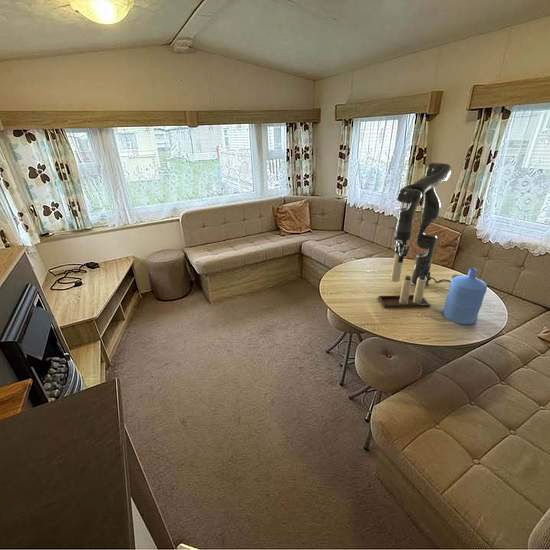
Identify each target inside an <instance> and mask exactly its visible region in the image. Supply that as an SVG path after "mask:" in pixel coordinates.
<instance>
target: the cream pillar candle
mask: <svg viewBox="0 0 550 550" xmlns="http://www.w3.org/2000/svg"><path fill="white" fill-rule="evenodd" d="M398 259H399V251H397V253H395V252H394V256H393V262H392V269H391V275H390V281H391V282H394V283H398V282H400V281H401V280H400V279H401V275H402V270H403V269H402V268H403V263H404V261H403V262H402V263H399V262H398Z"/></svg>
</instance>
